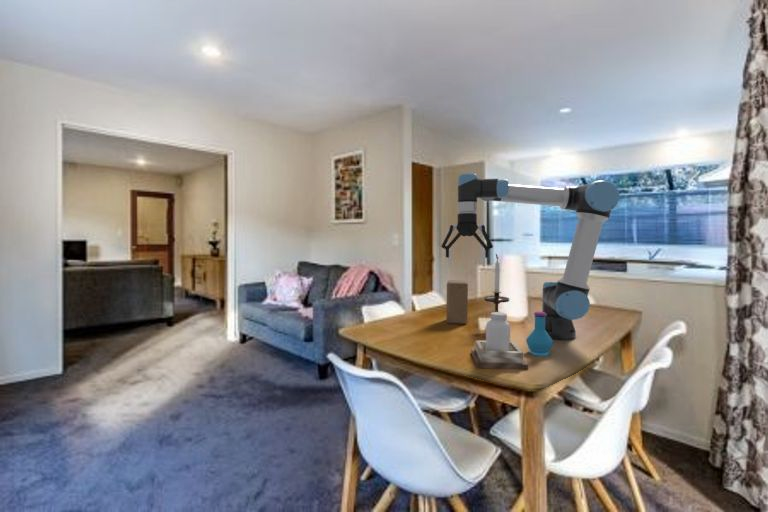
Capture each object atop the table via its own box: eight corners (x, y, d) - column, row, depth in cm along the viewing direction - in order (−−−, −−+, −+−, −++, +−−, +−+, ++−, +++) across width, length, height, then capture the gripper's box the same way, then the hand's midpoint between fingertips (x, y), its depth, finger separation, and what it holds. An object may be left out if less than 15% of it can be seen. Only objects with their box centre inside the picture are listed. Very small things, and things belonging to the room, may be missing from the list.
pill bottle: (512, 360, 132) (513, 315, 131) (488, 359, 132) (489, 315, 131) (505, 352, 140) (506, 311, 139) (483, 352, 140) (483, 311, 139)
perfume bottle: (550, 358, 139) (551, 316, 138) (523, 354, 143) (524, 313, 142) (554, 351, 146) (555, 311, 145) (528, 347, 151) (529, 309, 150)
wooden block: (467, 324, 189) (467, 283, 188) (446, 323, 191) (446, 282, 189) (467, 319, 199) (467, 280, 197) (447, 319, 201) (447, 280, 199)
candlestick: (485, 331, 175) (486, 253, 173) (483, 326, 186) (484, 252, 183) (510, 332, 173) (511, 253, 171) (506, 326, 184) (508, 252, 182)
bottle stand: (515, 353, 144) (515, 340, 143) (528, 369, 128) (528, 354, 127) (471, 352, 145) (471, 339, 145) (478, 367, 129) (478, 352, 129)
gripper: (497, 213, 160) (496, 265, 162) (435, 213, 162) (435, 264, 164) (501, 212, 153) (500, 266, 154) (436, 212, 155) (435, 266, 156)
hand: (466, 265), depth 159 cm, fingers open, 13 cm apart
